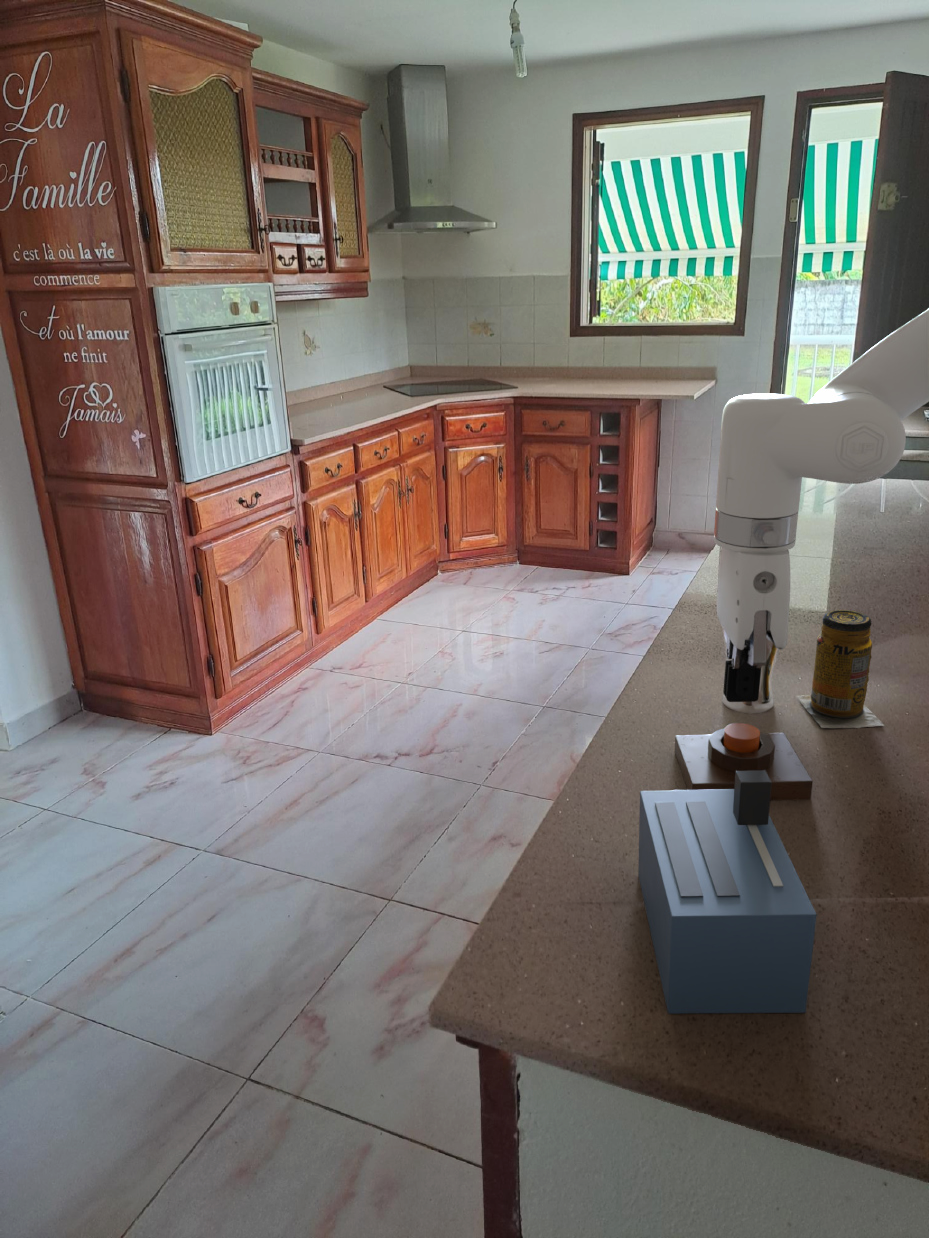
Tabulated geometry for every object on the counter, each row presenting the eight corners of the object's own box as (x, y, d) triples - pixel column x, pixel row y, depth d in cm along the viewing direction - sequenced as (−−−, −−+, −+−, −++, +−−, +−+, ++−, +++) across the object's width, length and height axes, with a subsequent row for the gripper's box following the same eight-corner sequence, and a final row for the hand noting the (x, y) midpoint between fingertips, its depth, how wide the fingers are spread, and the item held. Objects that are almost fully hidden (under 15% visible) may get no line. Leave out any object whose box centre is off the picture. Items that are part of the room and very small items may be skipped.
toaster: (750, 873, 79) (756, 787, 76) (805, 1012, 64) (817, 913, 61) (638, 875, 80) (639, 789, 77) (667, 1013, 65) (671, 915, 62)
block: (782, 749, 99) (785, 718, 97) (811, 799, 89) (814, 765, 88) (674, 752, 99) (675, 721, 98) (691, 802, 90) (693, 768, 89)
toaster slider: (762, 812, 72) (765, 769, 71) (768, 824, 71) (771, 782, 69) (732, 812, 72) (735, 770, 71) (737, 825, 71) (740, 782, 69)
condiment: (853, 694, 110) (864, 604, 105) (884, 727, 102) (897, 631, 98) (795, 697, 110) (803, 608, 106) (821, 730, 102) (831, 635, 98)
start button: (753, 736, 95) (755, 722, 94) (763, 753, 91) (764, 739, 91) (720, 737, 95) (720, 723, 94) (727, 754, 92) (728, 740, 91)
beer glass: (770, 720, 105) (780, 603, 99) (712, 709, 108) (718, 595, 103) (782, 696, 110) (792, 583, 105) (726, 686, 114) (733, 577, 108)
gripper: (820, 550, 77) (799, 733, 84) (773, 506, 91) (758, 667, 98) (733, 552, 78) (719, 734, 84) (699, 508, 91) (689, 668, 98)
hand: (740, 697), depth 91 cm, fingers closed
